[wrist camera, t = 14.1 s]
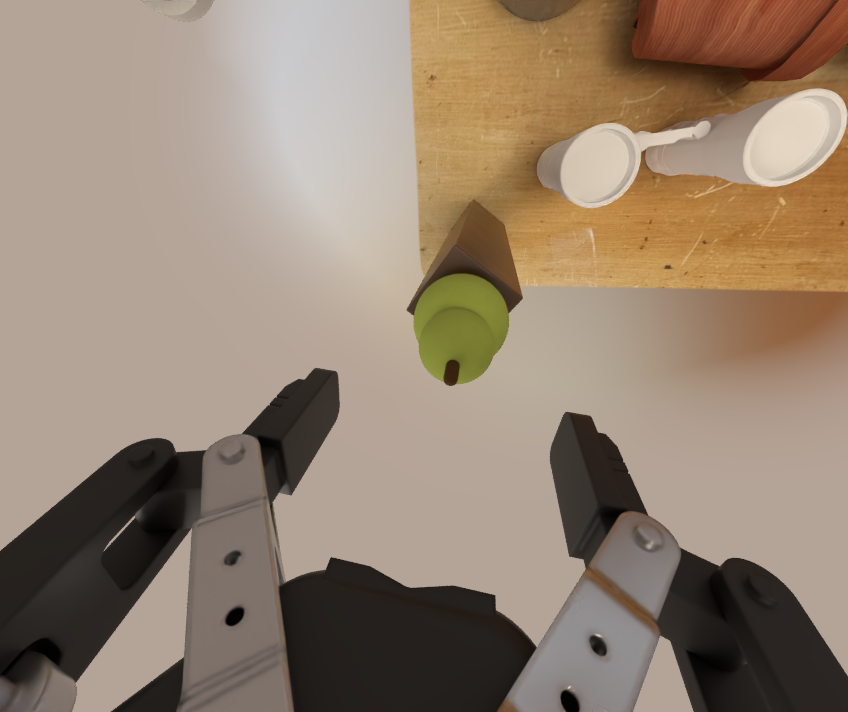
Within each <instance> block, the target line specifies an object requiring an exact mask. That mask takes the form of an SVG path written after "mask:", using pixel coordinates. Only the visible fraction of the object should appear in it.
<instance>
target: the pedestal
mask: <svg viewBox="0 0 848 712" xmlns="http://www.w3.org/2000/svg"><path fill="white" fill-rule="evenodd" d="M453 274H471V275H475V276H478V277H481V278H483V279H485V280H486V281H488V282H489V283H491V284H492V285H493V286H494V287H495V288H496V289H497V290H498V291H499V292H500V294H501V295H502V297H503V299H504V301H505V303H506V306H507V309H508V314H509V312H510V311H511V310H512V309H513V308H514V307H515V306H516V305H517V304H518V303H519V302H520V301H521V300H522V298H523V297H522V293H521V289H520V285H519V281H518V277H517V273H516V269H515V265H514V261H513V257H512V254H511V250H510V246H509V242H508V238H507V234H506V230H505V226H504V224H503V223H502V222H500V221H499V220H498V219H497V218H496V217H494V216H493V215H492V214H491V213H489V212H488V211H487V210H486V209H485V208H483V207H482V206H481V205H480V204H479V203H477V202H476V201H475V200H473V201H472V202H471V203H470V205H469V206H468V208H467V209H466V210H465V212H464V213H463V215H462V216H461V217H460V219H459V220H458V222H457V223H456V224H455V226H454V227H453V229H452V230H451V231H450V233H449V234H448V236H447V238H446V240H445V242H444V243H443V245H442V247H441V249H440V251H439V252H438V254H437V256H436V258H435V260H434V261H433V263H432V265H431V267H430V269H429V270H428V272H427V274H426V276H425V277H424V279H423V281H422V283H421V285H420V286H419V288H418V290H417V292H416V294H415V296H414V297H413V299H412V301H411V303H410V304H409V306H408V308H407V311H408V312H410V313H411V314H412V315H414V312H415V309H416V306H417V303H418V301H419V299H420V297H421V296H422V294H423V293H424V291H425V290H426V289H427V288H428V287H429V286H430V285H431V284H433V283H434V282H436V281H437V280H439V279H441V278H443V277H445V276H448V275H453Z"/></svg>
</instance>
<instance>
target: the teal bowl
mask: <svg viewBox="0 0 848 712" xmlns="http://www.w3.org/2000/svg"><path fill="white" fill-rule="evenodd" d="M500 1H501V3H502V4H503V5H504V6H505V7H506V8H507V9H508V10H509V11H510V12H511V13H513V14H514V15H516V16H518V17H520V18H523V19H526V20H531V21H542V20H547V19H551V18H554V17H557V16H559V15H561V14H562V13H564V12H566V11H567V10H569V9H570V8H572V7H573V6H574V5H575V4H576V3H578V2H579V1H580V0H500Z"/></svg>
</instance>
